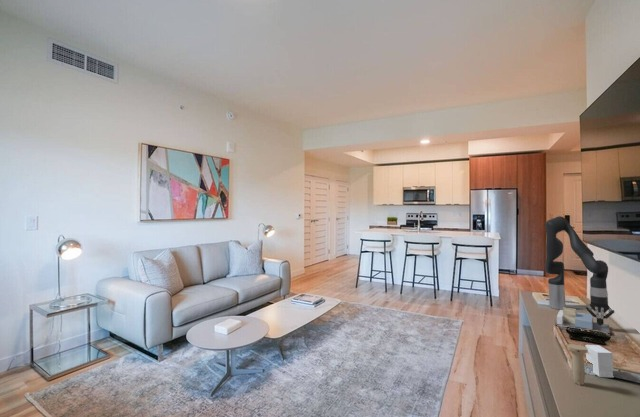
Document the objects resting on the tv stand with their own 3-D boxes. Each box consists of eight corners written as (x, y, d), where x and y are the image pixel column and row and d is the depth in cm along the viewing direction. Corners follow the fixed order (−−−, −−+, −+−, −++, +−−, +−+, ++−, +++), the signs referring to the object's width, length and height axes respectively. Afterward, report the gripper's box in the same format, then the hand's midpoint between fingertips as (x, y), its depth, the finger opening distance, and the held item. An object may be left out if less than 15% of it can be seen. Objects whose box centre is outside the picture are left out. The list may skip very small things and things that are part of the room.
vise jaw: (577, 319, 190) (577, 312, 190) (593, 321, 184) (593, 314, 185) (575, 326, 178) (574, 319, 178) (592, 329, 173) (591, 322, 173)
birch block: (564, 320, 190) (563, 307, 190) (576, 322, 185) (575, 309, 186) (563, 321, 187) (562, 308, 187) (576, 324, 182) (575, 310, 183)
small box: (614, 378, 127) (613, 353, 128) (598, 377, 129) (597, 352, 129) (600, 368, 135) (599, 344, 135) (586, 367, 136) (585, 344, 137)
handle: (590, 388, 121) (588, 351, 121) (570, 384, 124) (568, 347, 124) (588, 382, 125) (586, 346, 125) (568, 378, 128) (566, 343, 129)
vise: (558, 318, 196) (557, 309, 196) (609, 327, 180) (608, 317, 180) (555, 325, 185) (554, 316, 185) (609, 335, 168) (608, 325, 168)
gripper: (583, 294, 178) (584, 323, 178) (614, 298, 169) (616, 329, 169) (584, 291, 184) (585, 320, 183) (614, 295, 174) (616, 325, 174)
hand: (600, 324), depth 176 cm, fingers closed
